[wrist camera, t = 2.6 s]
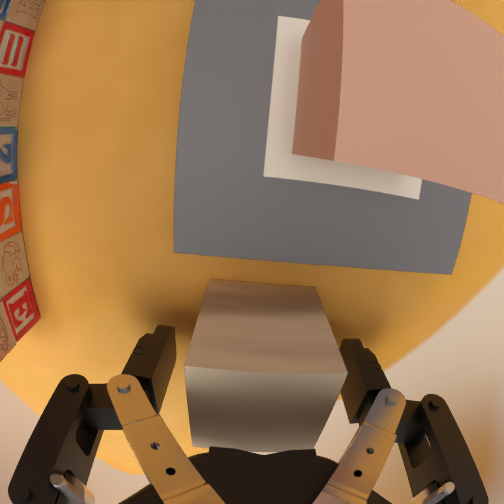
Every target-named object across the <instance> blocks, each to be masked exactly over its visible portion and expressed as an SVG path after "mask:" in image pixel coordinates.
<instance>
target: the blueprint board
mask: <svg viewBox="0 0 504 504" xmlns="http://www.w3.org/2000/svg"><path fill="white" fill-rule="evenodd" d="M319 1H320V0H195V5H194V10H193V16H192V21H191V27H190V33H189V39H188V46H187V53H186V60H185V67H184V75H183V84H182V93H181V102H180V113H179V124H178V137H177V152H176V170H175V196H174V253H184V254H195V255H207V256H218V257H230V258H242V259H254V260H266V261H278V262H290V263H303V264H315V265H328V266H341V267H354V268H367V269H380V270H394V271H408V272H422V273H436V274H450V275H452V272H453V268H454V265H455V262H456V258H457V255H458V251H459V248H460V244H461V240H462V236H463V232H464V228H465V224H466V219H467V214H468V210H469V204H470V199H471V193H470V192H467V191H464V190H460V189H457V188H454V187H450V186H447V185H443V184H439V183H436V182H432V181H428V180H424V179H420V178H416V177H412V176H408V175H403V174H399V173H395V172H390V171H385V170H380V169H376V168H370V167H365V166H360V165H354V164H349V163H343V162H337V161H331V160H326V159H320V158H314V157H308V156H302V155H295V154H292V147H293V137H294V126H295V116H296V105H297V94H298V82H299V69H300V56H301V42H302V37H303V35H304V33H305V30H306V28H307V26H308V24H309V22H310V20H311V18H312V16H313V14H314V12H315V9H316V7H317V5H318V3H319Z"/></svg>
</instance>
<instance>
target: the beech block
mask: <svg viewBox="0 0 504 504" xmlns="http://www.w3.org/2000/svg"><path fill="white" fill-rule="evenodd" d="M184 371H185V383H186V394H187V403H188V413H189V421H190V429H191V437H192V445H193V446H194V447H202V448H209V447H210V446H214V447H224V448H236V449H240V450H244V451H250V452H283V451H287V450H301V449H313V448H314V446H315V444H316V442H317V440H318V438H319V436H320V434H321V432H322V430H323V428H324V426H325V424H326V422H327V420H328V418H329V415H330V413H331V411H332V409H333V407H334V405H335V402H336V400H337V398H338V396H339V393H340V391H341V388H342V386H343V384H344V381H345V379H346V376H347V374H348V372H347V370H346V367H345V364H344V361H343V359H342V356H341V353H340V351H339V348H338V345H337V343H336V340H335V338H334V335H333V332H332V330H331V327H330V325H329V322H328V319H327V317H326V314H325V312H324V309H323V307H322V304H321V302H320V299H319V297H318V294H317V292H316V289H315V287H309V286H294V285H280V284H266V283H254V282H241V281H230V280H218V279H210V280H209V283H208V286H207V289H206V292H205V296H204V299H203V302H202V306H201V309H200V312H199V316H198V319H197V322H196V326H195V329H194V332H193V336H192V339H191V343H190V346H189V350H188V353H187V357H186V360H185V364H184Z"/></svg>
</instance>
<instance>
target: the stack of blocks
mask: <svg viewBox="0 0 504 504" xmlns="http://www.w3.org/2000/svg"><path fill="white" fill-rule="evenodd" d="M44 2H45V0H0V362H1V361H2V359H3V358H4V357H5V356H6V355H7V354H8V353H9V352H10V351H11V350H12V349H13V348H14V346H15V345H16V342H17V341H19V340H20V339H21V338H22V337H23V336H24V335H25V334H26V333H27V332H28V331H29V330H30V329H31V328H32V327H33V326H34V325H35V324H36V323H37V321H38V320H39V319H40V315H39V312H38V309H37V305H36V302H35V298H34V295H33V291H32V287H31V283H30V279H29V275H30V274H29V268H28V263H27V258H26V252H25V246H24V240H23V235H22V232H21V228H22V227H21V216H20V206H19V190H18V181H17V137H18V128H17V126H18V119H19V107H20V99H21V91H22V84H23V77H24V76H25V71H26V66H27V61H28V56H29V52H30V48H31V44H32V40H33V36H34V32H35V29H36V26H37V23H38V20H39V16H40V13H41V10H42V7H43V5H44Z"/></svg>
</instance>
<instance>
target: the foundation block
mask: <svg viewBox="0 0 504 504" xmlns="http://www.w3.org/2000/svg"><path fill="white" fill-rule="evenodd" d="M292 154H295V155H302V156H308V157H314V158H320V159H326V160H331V161H337V162H343V163H349V164H354V165H360V166H365V167H370V168H376V169H380V170H385V171H390V172H395V173H399V174H403V175H408V176H412V177H416V178H420V179H424V180H428V181H432V182H436V183H439V184H443V185H447V186H450V187H454V188H457V189H460V190H464V191H467V192H470V193H474V194H477V195H480V196H483V197H486V198H489V199H492V200H495V201H498V202H500V203H503V204H504V35H502V34H501V33H500V32H499V31H497V30H496V29H494V28H493V27H492V26H490V25H489V24H488V23H486V22H485V21H483V20H482V19H480V18H479V17H477V16H476V15H474V14H473V13H471V12H469V11H468V10H466V9H465V8H463V7H461V6H460V5H458V4H456V3H455V2H453V1H451V0H320V1H319V3H318V5H317V7H316V9H315V12H314V14H313V16H312V18H311V20H310V22H309V24H308V26H307V28H306V30H305V33H304V35H303V37H302V42H301V56H300V69H299V82H298V94H297V105H296V116H295V126H294V137H293V147H292Z"/></svg>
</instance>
